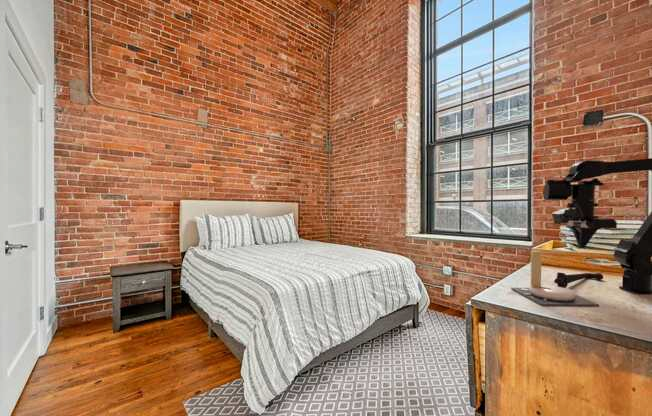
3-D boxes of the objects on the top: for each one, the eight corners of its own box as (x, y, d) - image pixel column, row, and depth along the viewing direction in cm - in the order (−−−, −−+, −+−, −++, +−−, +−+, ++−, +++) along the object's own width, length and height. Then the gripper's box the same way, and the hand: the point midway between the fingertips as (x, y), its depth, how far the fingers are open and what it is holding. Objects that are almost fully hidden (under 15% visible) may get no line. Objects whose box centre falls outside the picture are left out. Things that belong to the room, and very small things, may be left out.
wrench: (604, 285, 106) (572, 292, 90) (586, 282, 110) (552, 289, 94) (604, 270, 106) (572, 275, 90) (585, 268, 111) (552, 272, 94)
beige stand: (541, 286, 97) (542, 248, 96) (583, 296, 87) (583, 254, 86) (521, 292, 92) (521, 251, 91) (562, 303, 82) (563, 258, 81)
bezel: (559, 289, 96) (559, 286, 96) (599, 306, 81) (599, 303, 81) (510, 289, 97) (510, 286, 97) (540, 305, 82) (540, 302, 82)
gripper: (538, 200, 107) (537, 243, 108) (579, 200, 88) (578, 253, 89) (571, 199, 106) (570, 243, 107) (619, 200, 88) (617, 253, 88)
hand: (581, 247), depth 98 cm, fingers closed
